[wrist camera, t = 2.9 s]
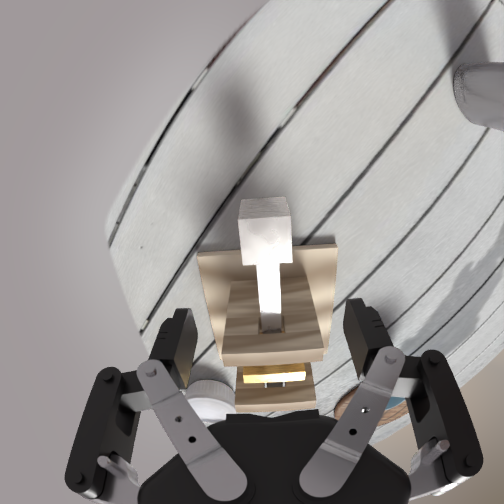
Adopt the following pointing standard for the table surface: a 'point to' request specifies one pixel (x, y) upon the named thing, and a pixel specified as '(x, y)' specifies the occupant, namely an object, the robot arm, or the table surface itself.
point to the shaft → (266, 253)
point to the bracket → (292, 321)
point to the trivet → (386, 417)
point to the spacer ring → (274, 372)
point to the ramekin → (211, 400)
